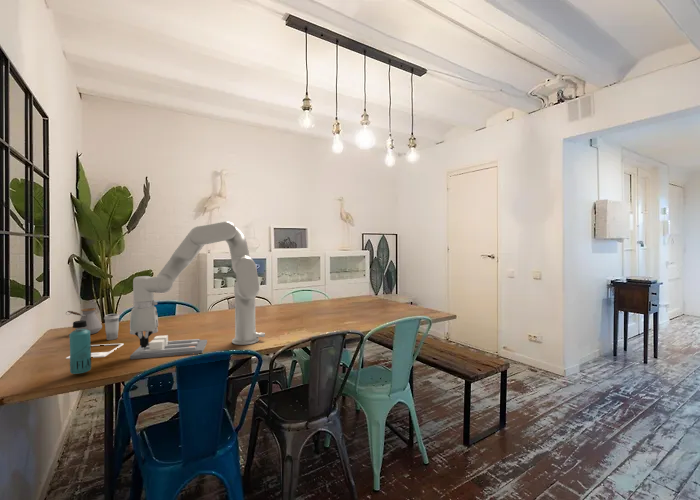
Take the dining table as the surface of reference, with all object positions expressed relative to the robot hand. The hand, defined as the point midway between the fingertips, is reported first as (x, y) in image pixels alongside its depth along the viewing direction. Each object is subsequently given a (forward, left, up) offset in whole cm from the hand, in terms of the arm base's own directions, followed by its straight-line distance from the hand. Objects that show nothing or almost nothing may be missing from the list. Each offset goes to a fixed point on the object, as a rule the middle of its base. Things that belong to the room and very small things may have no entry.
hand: (144, 346), depth 152 cm
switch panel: (-10, -3, -4) cm, 11 cm away
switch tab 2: (-5, 0, -2) cm, 5 cm away
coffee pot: (+40, -43, -4) cm, 59 cm away
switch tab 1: (-5, -7, -2) cm, 9 cm away
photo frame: (+22, -11, -4) cm, 25 cm away
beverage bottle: (+16, +19, -4) cm, 25 cm away
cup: (+23, -32, -4) cm, 40 cm away
